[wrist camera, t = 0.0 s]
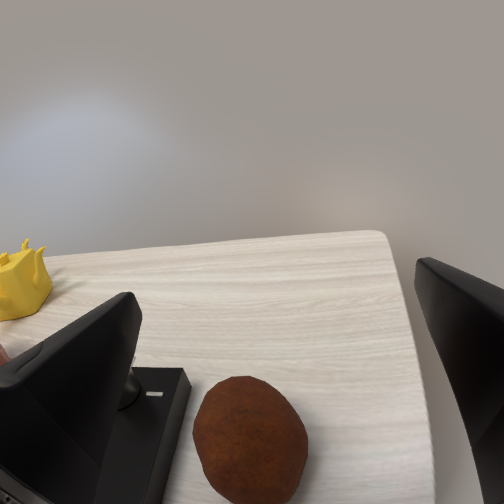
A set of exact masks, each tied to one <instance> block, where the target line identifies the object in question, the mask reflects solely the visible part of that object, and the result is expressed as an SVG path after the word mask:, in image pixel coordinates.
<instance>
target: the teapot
mask: <svg viewBox="0 0 504 504" xmlns="http://www.w3.org/2000/svg"><path fill="white" fill-rule="evenodd" d="M28 240H29V239H26V240H25V241H24V242H23V244H22V251H21V252H17V253H14V254H12V255H9V256H8V252H5V253H3V254H1V255H0V321H5V320H12V319H17V318H21V317H25V316H29V315H32V314H34V313H36V312H37V311H38V309H39V308H40V306H41V305H42V304H43V302H44V301H45V299H46V298H47V296H48V295H49V293H50V291H51V290H52V283H51V279H50V277H49V275H48V273H47V271H46V268H45V265H44V262H43V257H42V254H43V251H44V249H45V248H46V246H44V247H42V248H40V249H38V250H37V251H36V252H35V251H34V250H33V249H32V248H31V249H28Z"/></svg>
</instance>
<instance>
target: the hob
mask: <svg viewBox="0 0 504 504" xmlns="http://www.w3.org/2000/svg"><path fill="white" fill-rule="evenodd" d="M135 359H136V357H133V361H132V364H131V369H132V370H133V372H134V374H135V375H136V377H137V379H138V381H139V383H140V391H139V394H138V396H137V397H136V399H135V400H134V401H133V402H132V403H131V404H129V405H128V406H126V407H124V408H122V409H119V410H117V414H116V417H115V421H114V424H113V428H112V432H111V435H110V439H109V443H108V447H107V451H106V455H105V459H104V463H103V466H102V472H101V476H100V481H99V485H98V490H97V494H96V499H95V504H161V503H162V499H163V495H164V491H165V487H166V483H167V479H168V475H169V471H170V468H171V464H172V460H173V456H174V452H175V448H176V444H177V440H178V437H179V433H180V429H181V425H182V422H183V418H184V414H185V410H186V407H187V403H188V399H189V395H190V392H191V388H192V386H191V384H190V382H189V380H188V378H187V376H186V373H185V371H184V369H183V368H152V367H132V366H133V364H134V361H135Z"/></svg>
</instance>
